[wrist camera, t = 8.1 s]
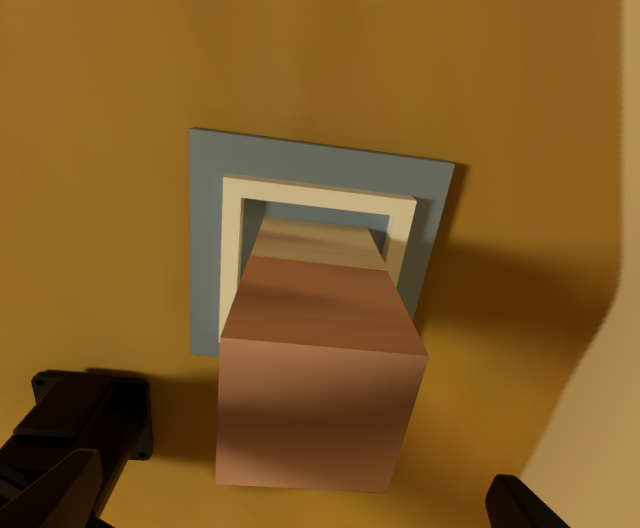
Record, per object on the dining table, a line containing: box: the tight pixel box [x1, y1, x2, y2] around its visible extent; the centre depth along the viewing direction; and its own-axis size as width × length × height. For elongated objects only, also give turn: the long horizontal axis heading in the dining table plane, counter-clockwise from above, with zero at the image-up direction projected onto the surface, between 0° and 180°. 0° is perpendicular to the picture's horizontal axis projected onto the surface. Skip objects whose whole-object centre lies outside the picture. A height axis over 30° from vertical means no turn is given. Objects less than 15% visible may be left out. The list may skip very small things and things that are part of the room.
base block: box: [251, 216, 388, 271], centre depth 17 cm, size 5×5×5 cm
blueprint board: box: [189, 127, 455, 357], centre depth 19 cm, size 12×12×2 cm
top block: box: [215, 255, 429, 494], centre depth 12 cm, size 5×5×5 cm
